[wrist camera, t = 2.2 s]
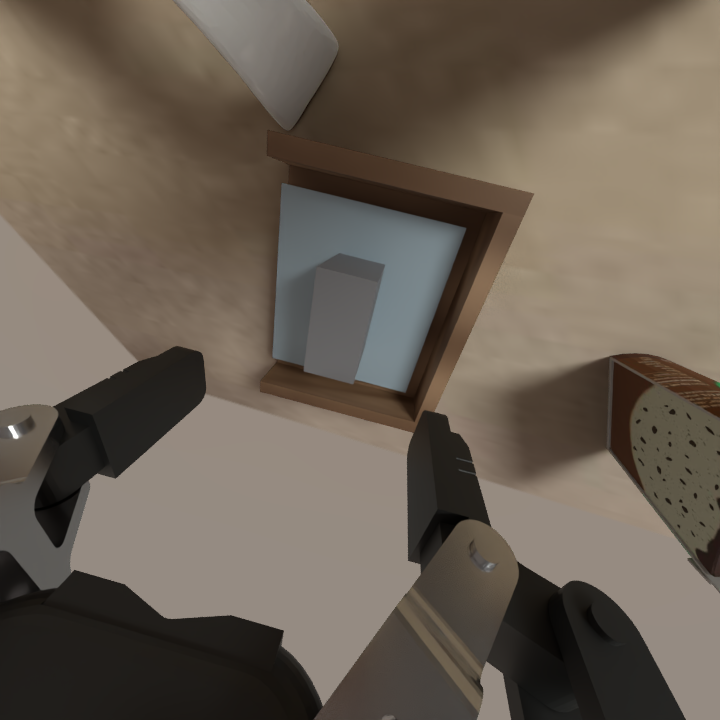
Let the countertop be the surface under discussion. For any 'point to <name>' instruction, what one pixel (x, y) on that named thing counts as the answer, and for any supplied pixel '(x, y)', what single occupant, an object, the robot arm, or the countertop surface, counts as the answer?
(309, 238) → the cover plate
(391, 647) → the robot arm
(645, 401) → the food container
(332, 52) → the spoon rest
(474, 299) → the open-fronted box
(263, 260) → the countertop surface
